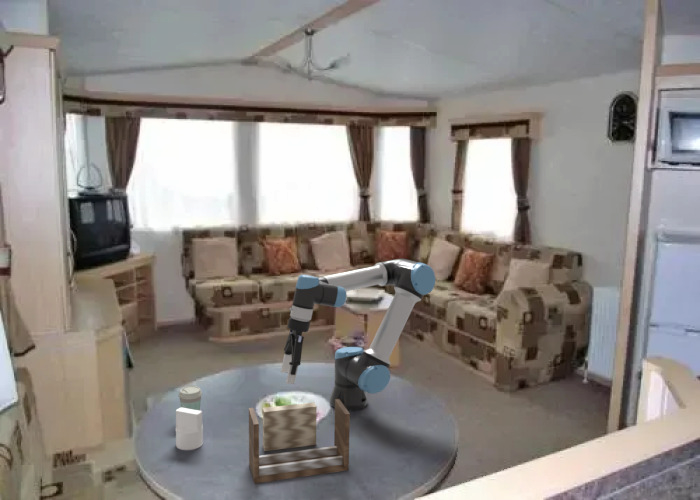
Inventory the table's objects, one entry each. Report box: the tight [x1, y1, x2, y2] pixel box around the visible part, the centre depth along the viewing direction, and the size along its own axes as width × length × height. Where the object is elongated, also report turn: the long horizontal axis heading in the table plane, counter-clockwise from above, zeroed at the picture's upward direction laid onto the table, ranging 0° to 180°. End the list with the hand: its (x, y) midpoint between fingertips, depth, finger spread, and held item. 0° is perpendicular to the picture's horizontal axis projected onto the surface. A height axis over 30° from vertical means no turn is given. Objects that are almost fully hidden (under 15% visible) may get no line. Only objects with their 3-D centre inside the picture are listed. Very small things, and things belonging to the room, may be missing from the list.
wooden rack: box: [248, 399, 351, 484], centre depth 185 cm, size 30×12×19 cm, turn 107°
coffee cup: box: [178, 385, 203, 411], centre depth 218 cm, size 8×8×12 cm
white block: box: [175, 406, 204, 451], centre depth 200 cm, size 9×9×12 cm
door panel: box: [262, 402, 318, 452], centre depth 200 cm, size 18×4×14 cm, turn 107°
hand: (287, 377), depth 204 cm, fingers open, 13 cm apart
